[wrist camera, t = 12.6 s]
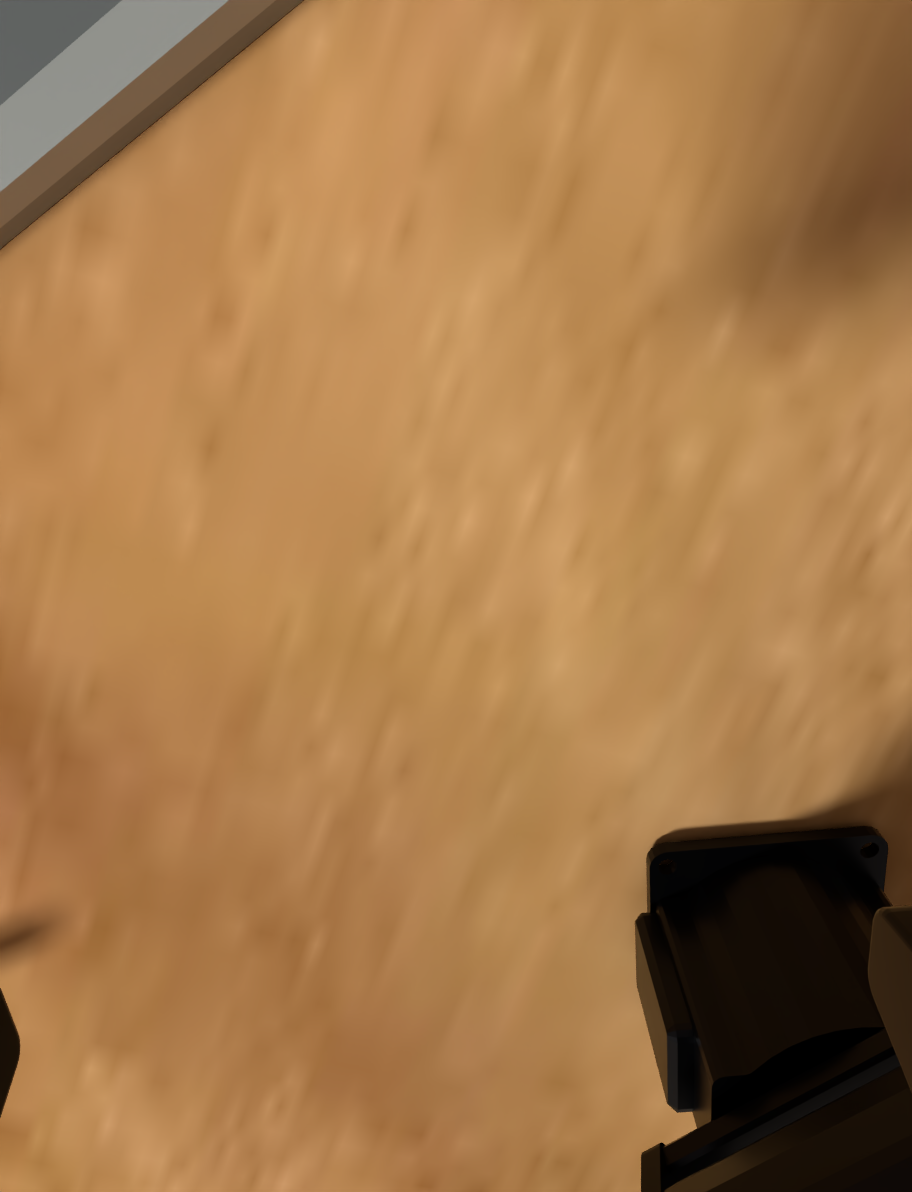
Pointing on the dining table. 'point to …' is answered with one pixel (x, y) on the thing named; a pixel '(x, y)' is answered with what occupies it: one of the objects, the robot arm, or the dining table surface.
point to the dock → (101, 83)
